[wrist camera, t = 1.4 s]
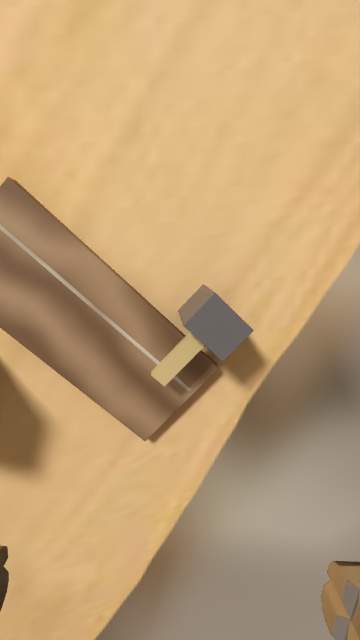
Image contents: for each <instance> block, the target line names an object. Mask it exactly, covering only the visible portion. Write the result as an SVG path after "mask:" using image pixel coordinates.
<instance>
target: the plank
mask: <svg viewBox="0 0 360 640" xmlns="http://www.w3.org/2000/svg"><path fill="white" fill-rule="evenodd" d="M0 328H2V329H3V330H4V331H5V332H7V333H8V334H9V335H10V336H12V337H13V338H14V339H16V340H17V341H18V342H19V343H21V344H22V345H23V346H24V347H26V348H27V349H28V350H30V351H31V352H32V353H33V354H35V355H36V356H37V357H38V358H40V359H41V360H42V361H44V362H45V363H46V364H47V365H49V366H50V367H51V368H52V369H54V370H55V371H56V372H58V373H59V374H60V375H61V376H63V377H64V378H65V379H66V380H68V381H69V382H70V383H72V384H73V385H74V386H75V387H77V388H78V389H79V390H80V391H82V392H83V393H84V394H86V395H87V396H88V397H89V398H91V399H92V400H93V401H94V402H96V403H97V404H98V405H100V406H101V407H102V408H103V409H105V410H106V411H107V412H108V413H110V414H111V415H112V416H113V417H115V418H116V419H117V420H119V421H120V422H121V423H122V424H124V425H125V426H126V427H127V428H129V429H130V430H131V431H133V432H134V433H135V434H136V435H138V436H139V437H140V438H141V439H143V440H144V441H146V440H147V439H148V438H149V437H150V436H151V435H152V434H153V433H154V432H155V431H156V430H157V429H158V428H159V427H160V426H161V425H162V424H163V423H164V422H165V421H166V420H167V419H168V418H169V417H170V416H171V415H172V414H173V413H174V412H175V411H176V410H177V409H178V408H179V407H180V406H181V405H182V404H183V403H184V402H185V401H186V400H187V399H188V398H189V397H190V396H191V395H192V394H193V393H194V392H195V391H196V390H197V389H198V388H199V387H200V386H201V385H202V384H203V383H204V382H205V381H206V380H207V379H208V378H209V377H210V376H211V375H212V374H213V373H214V372H215V371H216V370H217V369H219V368H218V367H217V365H216V363H215V362H214V361H213V360H212V359H210V358H209V357H208V356H207V355H206V354H205V353H204V352H203V351H202V350H200V351H199V352H198V353H197V354H196V355H195V356H194V357H193V358H192V359H191V360H190V361H189V362H188V363H187V364H186V365H185V366H184V367H183V368H182V369H181V370H180V371H179V372H178V373H177V374H176V375H175V377H174V378H173V379H172V380H171V381H170V382H169V383H168V384H167V385H166V386H165V387H164V386H163V385H162V384H161V383H160V382H159V381H157V380H156V379H155V378H154V377H153V376H151V371H152V370H153V369H154V368H155V367H156V366H157V365H158V364H159V363H160V362H161V361H162V360H163V359H164V358H165V357H166V356H167V355H168V354H169V353H170V352H171V351H172V350H173V349H174V348H175V346H176V345H177V344H178V343H179V342H180V341H181V340H182V339H183V338H184V337H185V335H184V334H183V333H182V332H181V331H180V330H179V329H178V328H177V327H175V326H174V325H173V324H172V323H171V322H170V321H169V320H168V319H167V318H166V317H164V316H163V315H162V314H161V313H160V312H159V311H158V310H157V309H156V308H155V307H153V306H152V305H151V304H150V303H149V302H148V301H147V300H146V299H145V298H144V297H143V296H141V295H140V294H139V293H138V292H137V291H136V290H135V289H134V288H133V287H132V286H130V285H129V284H128V283H127V282H126V281H125V280H124V279H123V278H122V277H121V276H120V275H118V274H117V273H116V272H115V271H114V270H113V269H112V268H111V267H110V266H109V265H107V264H106V263H105V262H104V261H103V260H102V259H101V258H100V257H99V256H98V255H97V254H95V253H94V252H93V251H92V250H91V249H90V248H89V247H88V246H87V245H86V244H84V243H83V242H82V241H81V240H80V239H79V238H78V237H77V236H76V235H75V234H74V233H72V232H71V231H70V230H69V229H68V228H67V227H66V226H65V225H64V224H63V223H61V222H60V221H59V220H58V219H57V218H56V217H55V216H54V215H53V214H52V213H51V212H49V211H48V210H47V209H46V208H45V207H44V206H43V205H42V204H41V203H40V202H38V201H37V200H36V199H35V198H34V197H33V196H32V195H31V194H30V193H29V192H28V191H26V190H25V189H24V188H23V187H22V186H21V185H20V184H19V183H18V182H17V181H15V180H13V179H11V178H9V177H8V178H7V179H6V180H5V181H4V183H3V184H2V185H1V186H0Z"/></svg>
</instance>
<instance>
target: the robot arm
mask: <svg viewBox="0 0 360 640" xmlns="http://www.w3.org/2000/svg"><path fill="white" fill-rule="evenodd" d="M7 559H8V549H7V546H0V611H1V608H2V606H3V602H4V599H5V596H6V593H7V588H8V581H9V572H8V571H7V570H6V568H5V567H4V565H5V563H6V561H7ZM327 573H328V575H329V577H330V579H331V580H330V581H329V582H327V583H326V584H325V585H324V586H323V591H322V596H321V598H322V608H323V613H324V617H325V621H326V623H327V626H328V628H329V631H330V633H331V635H332V636H333V637H334V638H335V639H336V640H360V562H347V561H333V562H332V563H330V565H329V568H328V571H327Z"/></svg>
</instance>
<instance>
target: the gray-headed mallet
mask: <svg viewBox="0 0 360 640" xmlns="http://www.w3.org/2000/svg"><path fill="white" fill-rule="evenodd" d="M178 312H179V315H180V317H181V320H182V323H183V326H184V327H186V328H187V329H188V330H189V331H190V332H189V333H188V334H187V335H186V336H185V337H184V338H183V339H182V340H181V341H180V342H179V343H178V344H177V345H176V346H175V348H174V349H173V350H172V351H171V352H170V353H169V354H168V355H167V356H166V357H165V358H164V359H163V360H162V361H161V362H160V363H159V364H158V365H157V366H156V367H155V368H154V369H153V370H152V371H151V376H153V377H154V378H155V379H156V380H157V381H159V382H160V383H161V384H162V385H163V386H164V387H165V386H166V385H167V384H168V383H169V382H170V381H171V380H172V379H173V378H174V377H175V375H176V374H177V373H178V372H179V371H180V370H181V369H182V368H183V367H184V366H185V365H186V364H187V363H188V362H189V361H190V360H191V359H192V358H193V357H194V356H195V355H196V354H197V353H198V352H199V351H200V350H201V349H202V348H203V347H204V346H206V347H207V348H208V349H209V350H211V351H212V352H213V353H214V354H215V355H216V356H217V357H218V358H219V359H220V360H221V361H224V360H225V359H226V358H227V357H228V356H229V355H230V354H231V353H232V352H233V351H234V350H235V349H236V348H237V347H238V346H239V345H240V344H241V343H242V342H243V341H244V340H245V339H246V338H247V337H248V336H249V335H250V334H251V333H252V332H253V331H254V330H253V329H252V328H251V327H250V326H249V325H248V324H247V323H246V322H245V321H243V320H242V319H241V318H240V317H239V316H238V315H237V314H236V313H235V312H234V311H233V310H232V309H231V308H230V307H229V306H228V305H227V304H226V303H225V302H224V301H223V300H222V299H221V298H220V297H219V296H218V295H217V294H216V293H215V292H213V291H212V290H211V289H209V288H208V287H206V286H205V285H204V284H203V285H202V286H201V287H200V288H199V289H198V290H197V291H196V292H195V294H194V295H193V296H192V297H191V298H190V299H189V300H188V301H187V302H186V303H185V304H184V305H183V306H182V307H181V308H180V309H179V310H178Z"/></svg>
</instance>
